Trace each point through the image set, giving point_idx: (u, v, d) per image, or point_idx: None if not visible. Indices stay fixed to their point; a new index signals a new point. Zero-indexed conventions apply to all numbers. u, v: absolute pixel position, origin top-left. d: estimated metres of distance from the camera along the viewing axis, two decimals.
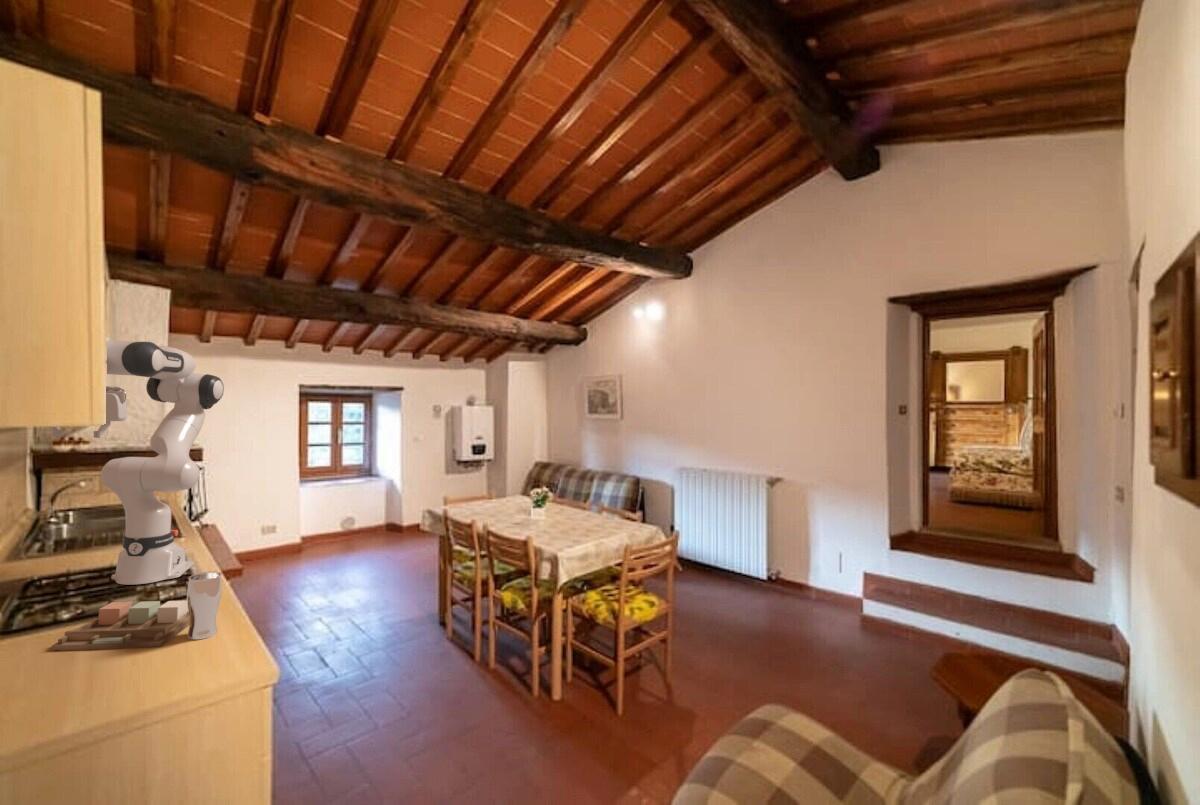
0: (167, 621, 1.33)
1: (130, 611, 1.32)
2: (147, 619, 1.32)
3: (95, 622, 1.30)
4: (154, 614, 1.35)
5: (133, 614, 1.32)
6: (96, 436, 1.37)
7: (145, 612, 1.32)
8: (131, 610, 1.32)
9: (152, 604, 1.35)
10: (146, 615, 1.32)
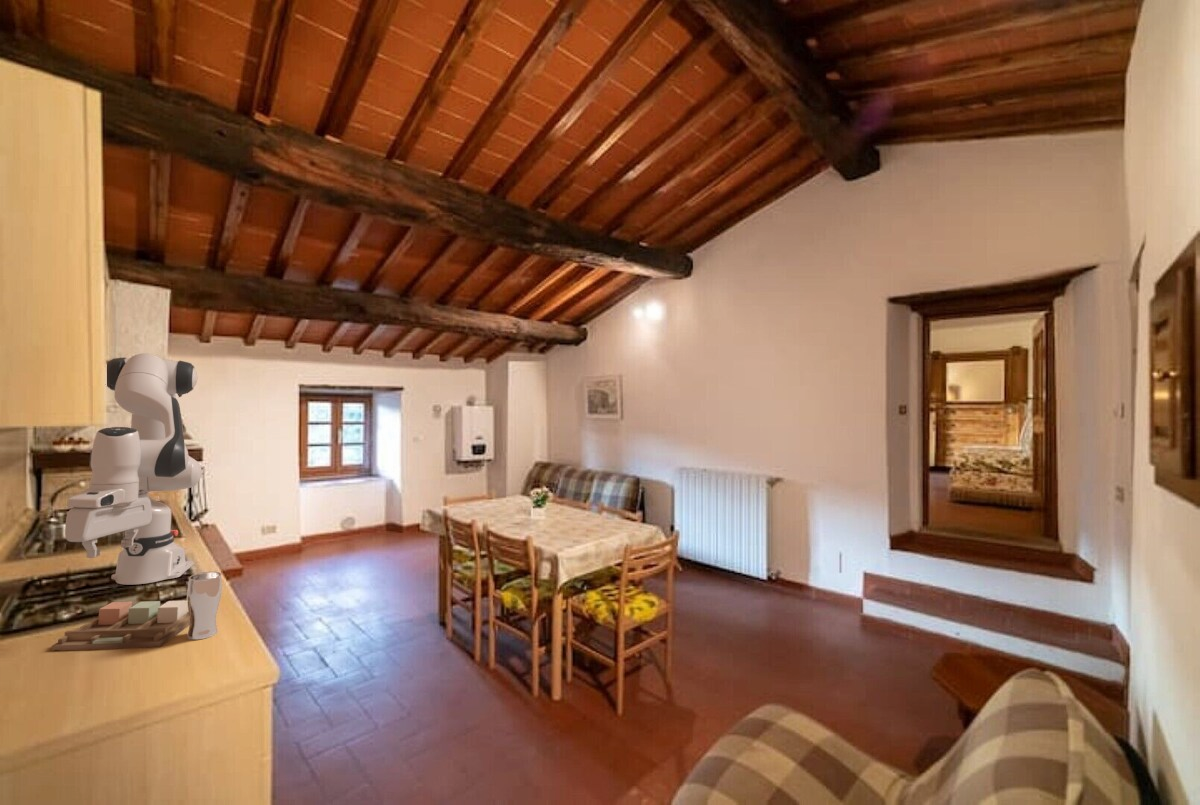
0: (167, 621, 1.33)
1: (130, 611, 1.32)
2: (147, 619, 1.32)
3: (95, 622, 1.30)
4: (154, 614, 1.35)
5: (133, 614, 1.32)
6: (130, 545, 1.29)
7: (145, 612, 1.32)
8: (131, 610, 1.32)
9: (152, 604, 1.35)
10: (146, 615, 1.32)
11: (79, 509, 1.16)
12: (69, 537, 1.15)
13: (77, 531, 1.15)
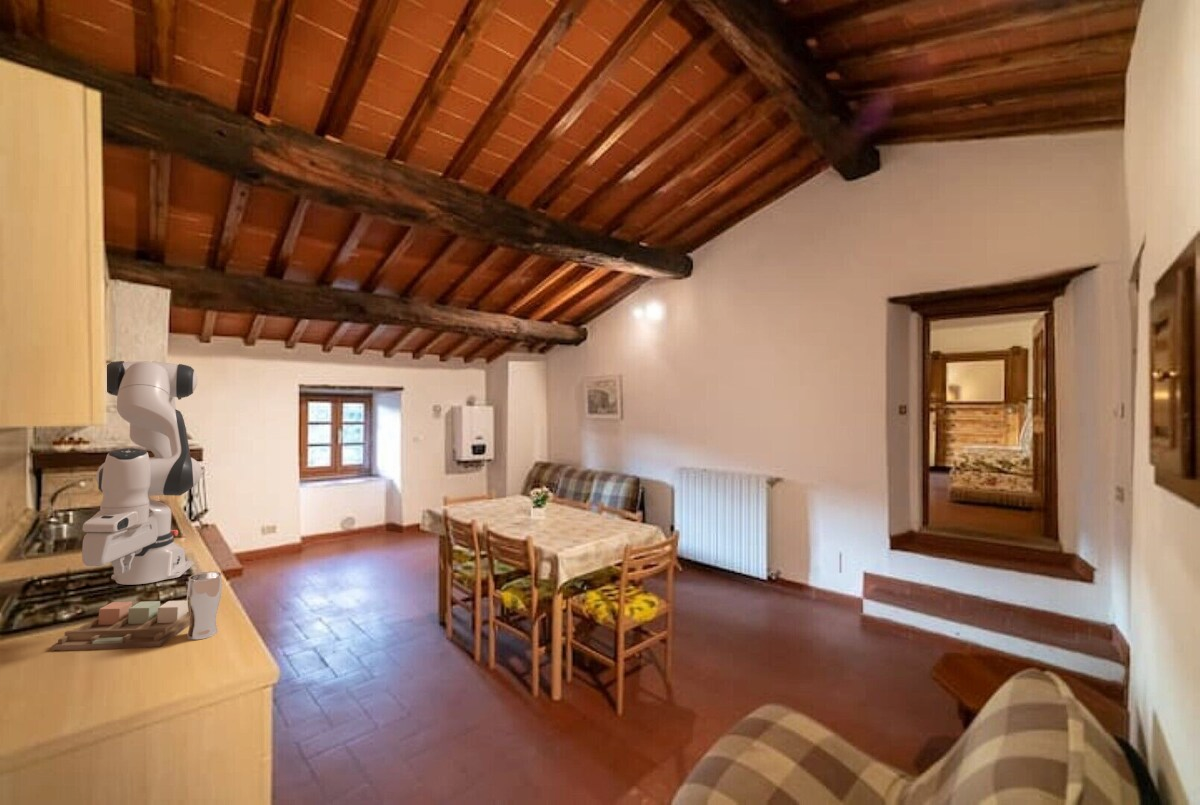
0: (167, 621, 1.33)
1: (130, 611, 1.32)
2: (147, 619, 1.32)
3: (95, 622, 1.30)
4: (154, 614, 1.35)
5: (133, 614, 1.32)
6: (127, 569, 1.27)
7: (145, 612, 1.32)
8: (131, 610, 1.32)
9: (152, 604, 1.35)
10: (146, 615, 1.32)
11: (96, 533, 1.17)
12: (87, 562, 1.16)
13: (95, 556, 1.16)
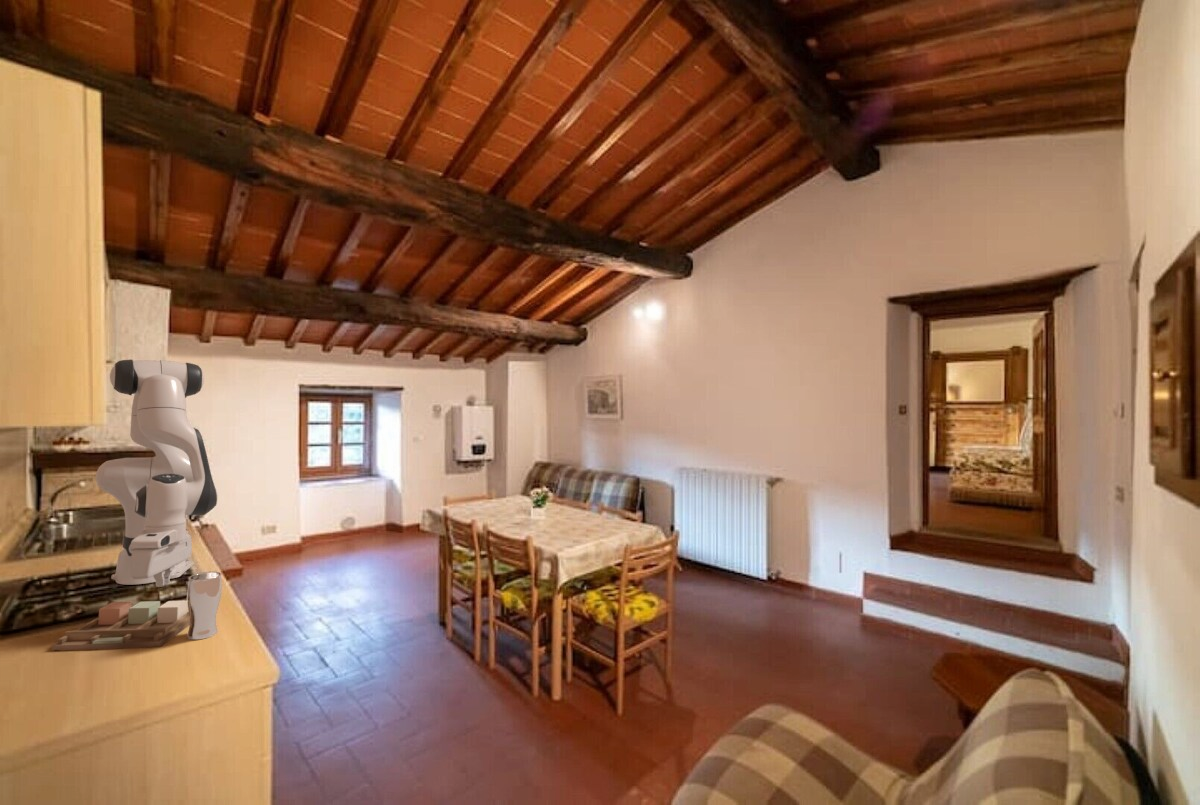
0: (167, 621, 1.33)
1: (130, 611, 1.32)
2: (147, 619, 1.32)
3: (95, 622, 1.30)
4: (154, 614, 1.35)
5: (133, 614, 1.32)
6: (167, 582, 1.41)
7: (145, 612, 1.32)
8: (131, 610, 1.32)
9: (152, 604, 1.35)
10: (146, 615, 1.32)
11: (142, 550, 1.33)
12: (135, 575, 1.31)
13: (142, 569, 1.31)
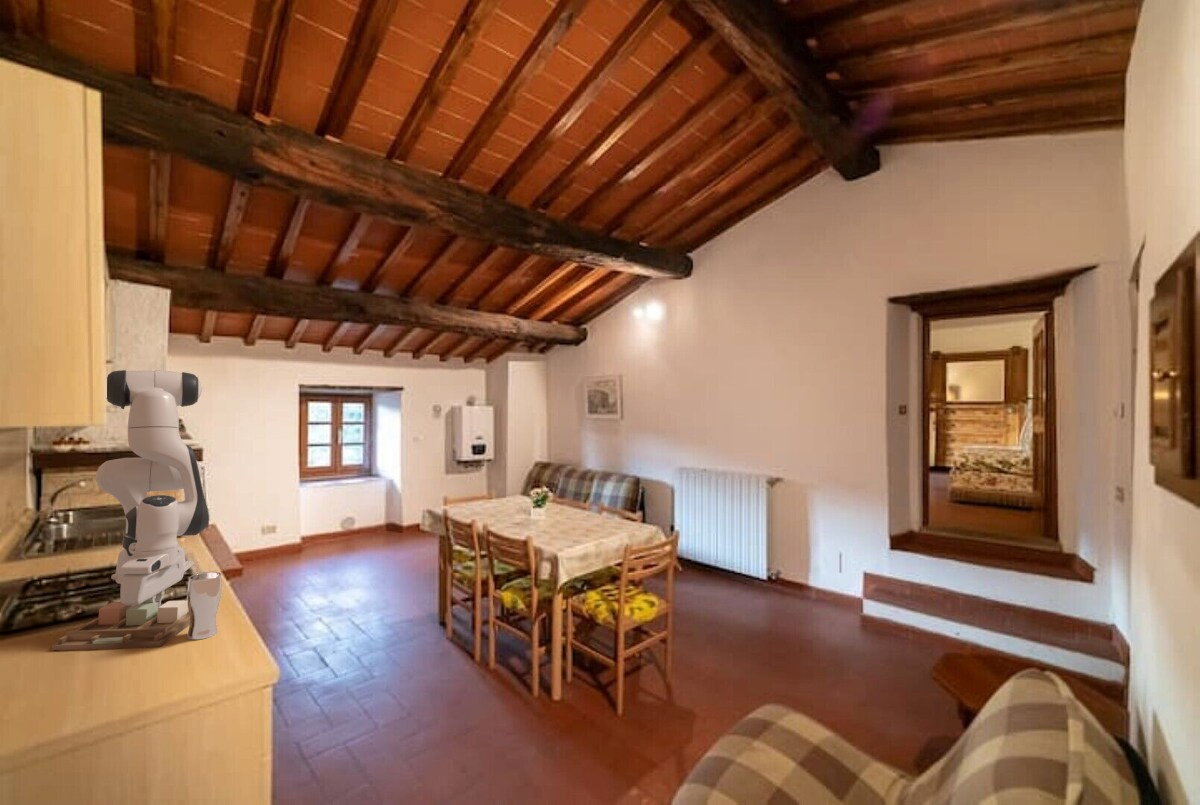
0: (167, 621, 1.33)
1: (128, 612, 1.31)
2: (145, 620, 1.32)
3: (95, 622, 1.30)
4: (151, 615, 1.34)
5: (131, 615, 1.31)
6: (158, 606, 1.38)
7: (143, 613, 1.32)
8: (129, 611, 1.31)
9: (150, 605, 1.34)
10: (144, 617, 1.32)
11: (132, 575, 1.29)
12: (125, 602, 1.28)
13: (132, 596, 1.28)
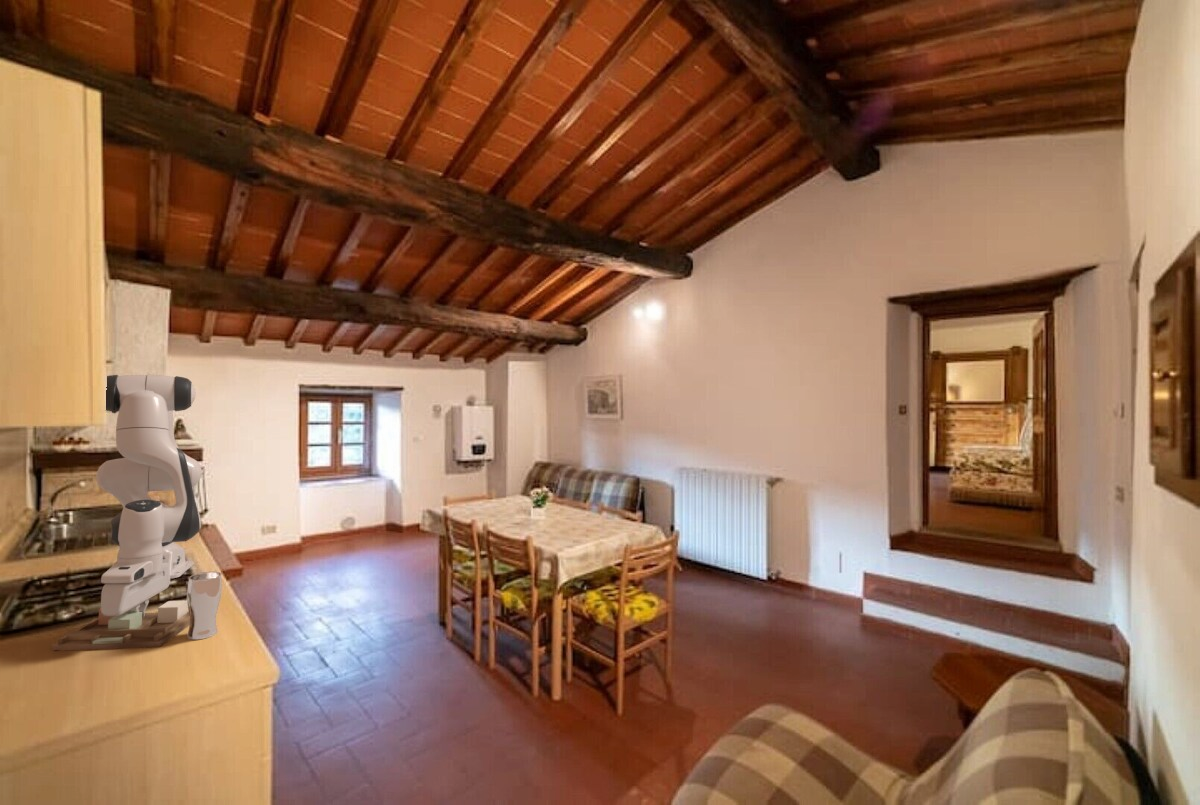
0: (167, 621, 1.33)
1: (110, 623, 1.25)
2: None
3: (95, 622, 1.30)
4: (135, 626, 1.28)
5: (113, 626, 1.25)
6: (142, 616, 1.32)
7: (126, 624, 1.25)
8: (111, 622, 1.25)
9: (133, 615, 1.28)
10: (127, 627, 1.26)
11: (114, 584, 1.23)
12: (105, 613, 1.21)
13: (113, 606, 1.22)
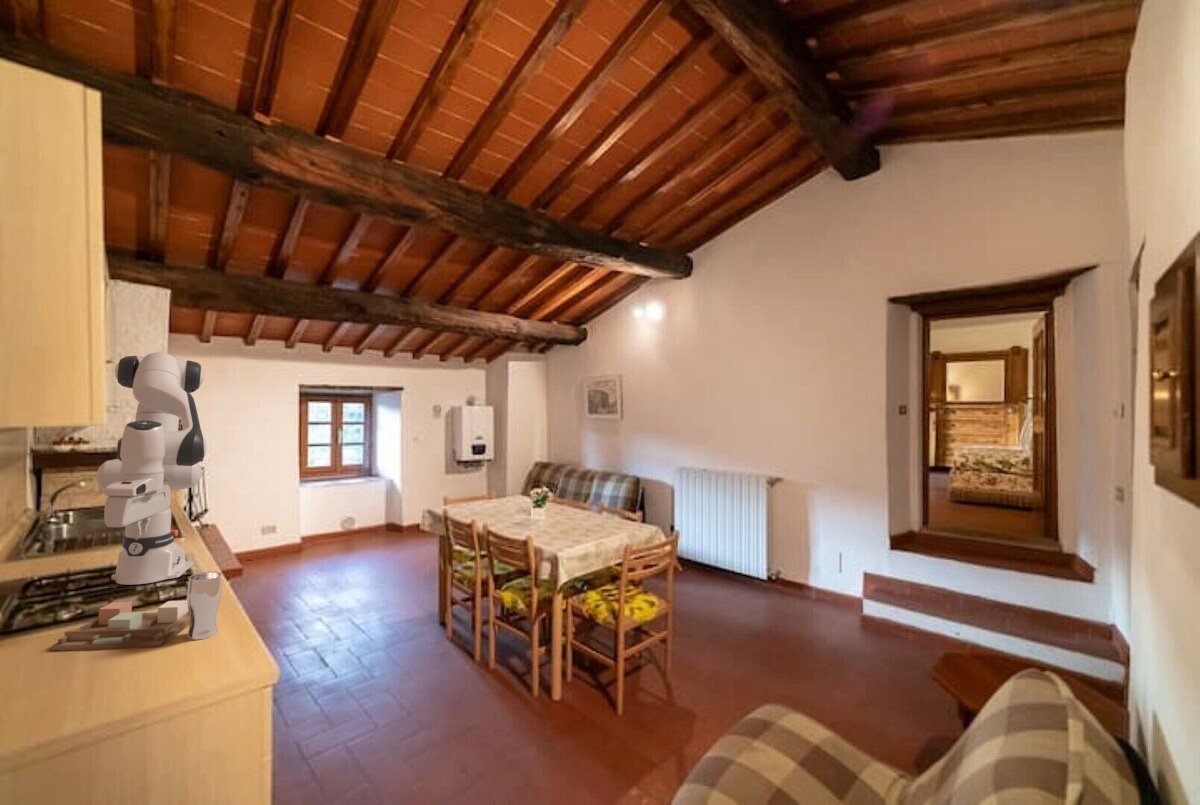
0: (167, 621, 1.33)
1: (110, 623, 1.25)
2: None
3: (95, 622, 1.30)
4: (135, 626, 1.28)
5: (113, 626, 1.25)
6: (144, 533, 1.37)
7: (126, 624, 1.25)
8: (111, 622, 1.25)
9: (133, 615, 1.28)
10: (127, 627, 1.26)
11: (116, 497, 1.27)
12: (109, 523, 1.26)
13: (116, 517, 1.26)
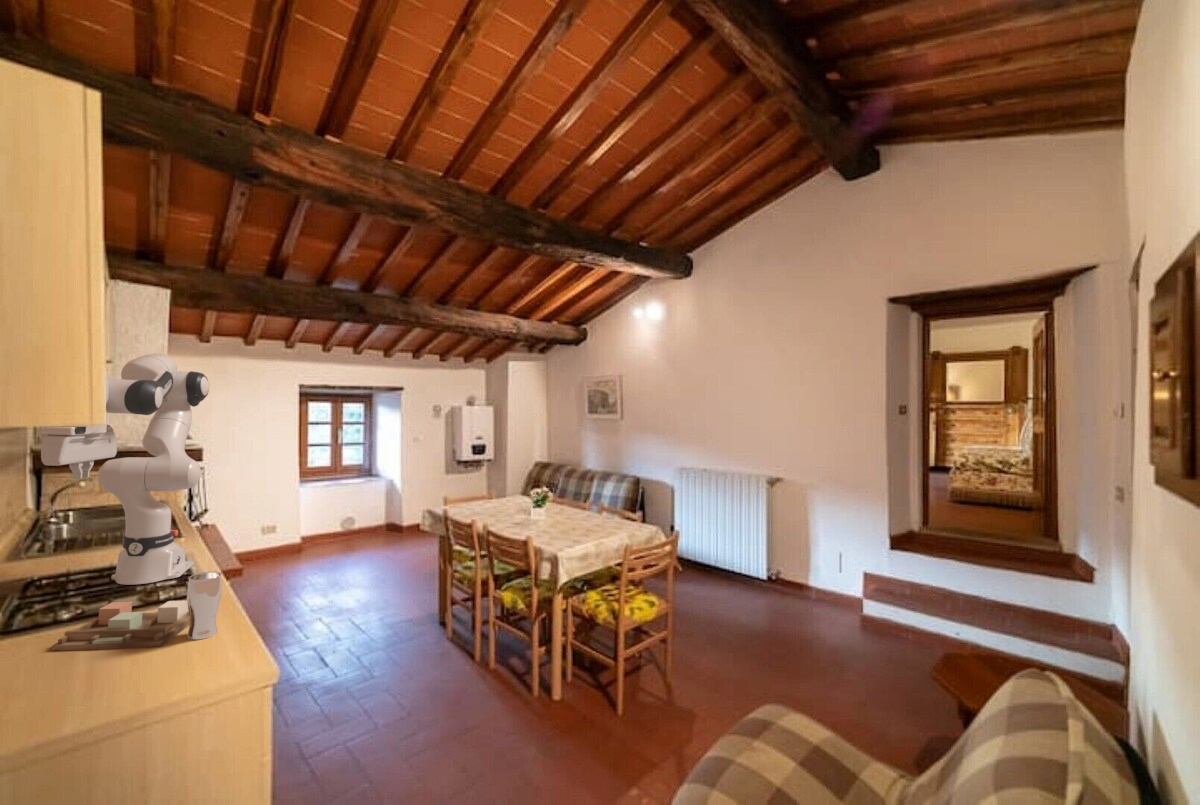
0: (167, 621, 1.33)
1: (110, 623, 1.25)
2: None
3: (95, 622, 1.30)
4: (135, 626, 1.28)
5: (113, 626, 1.25)
6: (86, 476, 1.36)
7: (126, 624, 1.25)
8: (111, 622, 1.25)
9: (133, 615, 1.28)
10: (127, 627, 1.26)
11: (54, 436, 1.27)
12: (46, 461, 1.26)
13: (53, 455, 1.26)
